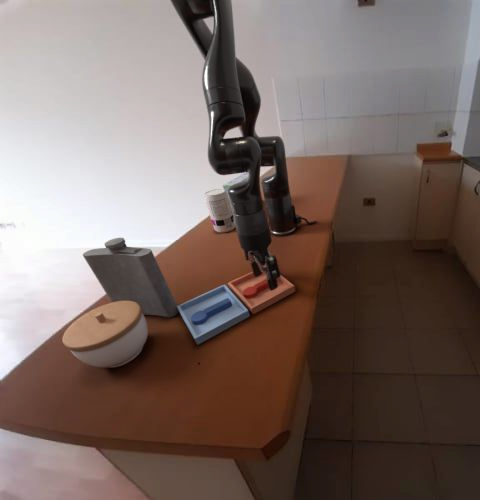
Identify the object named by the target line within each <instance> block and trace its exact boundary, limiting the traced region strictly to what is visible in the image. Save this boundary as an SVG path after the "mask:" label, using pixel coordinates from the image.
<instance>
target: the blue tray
mask: <svg viewBox="0 0 480 500" xmlns="http://www.w3.org/2000/svg"><path fill="white" fill-rule="evenodd" d="M226 298H229V300H230V301H231V303H232V306H231V307H229V308H227V309H225V310H223V311H221V312H219V313H217V314H215V315H214V316H212V317H210V318H208V320H207V321H206V322H205V323H203V324H200V325H194V324H193V323H192V320H191V316H192V315H193V314H194V313H196V312H198V311H202V310H203V311H204V309H206V308H208V307H210V306H212V305H214V304H216V303H218V302H220V301H222V300H224V299H226ZM177 308H178V310H179V312H178V313H179V314H180V317H181V318H182V320H183V322H184V323H185V325H186V327H187V328H188V331H189V333H190V334H191V336H192V338H193V340H194V341H195V343H196V345H201V344H202V343H204V342H206V341H208V340H210V339H211V338H213V337H215V336H216V335H218V334H220V333H222V332H224V331H226V330H227V329H230V328H231V327H233V326H234V325H236V324H239V323H240V322H242V321H244V320H246V319H248V318H249V317H251V315H250V311H249V309H248V308H247V307H246V306H245V305H244V304H243V303H242V302H241V301H240V299H239V298H238V297H237V296H236V295H235V294H234V293H233V292H232V291H231V289H230V288H229V286H228V285H226V284H222V285H220V286H218V287H216V288H214V289H210V290H209V291H207V292H205V293H203V294H200V295H198V296H196V297H193V298H192V299H189V300H187V301H186V302H182V303H181V304H179V305H177Z"/></svg>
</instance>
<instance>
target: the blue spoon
mask: <svg viewBox="0 0 480 500" xmlns="http://www.w3.org/2000/svg"><path fill="white" fill-rule="evenodd" d="M231 306H232V303H231V301H230V300H229V298H226V299H224V300H222V301H220V302H218V303H216V304H214V305H212V306H210V307H208V308H206V309H204V311H203V310H202V311H198V312H196V313H194V314H193V315H192V316H191V320H192V323H193V324H194V325H200V324H203V323H205V322H206V321H207V320H208V318H210V317H212V316H214V315H215V314H217V313H219V312H221V311H223V310H225V309H227V308H229V307H231Z"/></svg>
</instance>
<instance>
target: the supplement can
mask: <svg viewBox="0 0 480 500" xmlns="http://www.w3.org/2000/svg"><path fill="white" fill-rule="evenodd" d="M204 202H205V204H206V207H207V208H206V209H207V211H208V214H209V218H210V220H211V223H212V226H213V230H214V231H215V232H217V233H220V234H221V233H222V234H223V233H228V232H232V231H233V230H234V229H236V227H235V224H234V217H233V212H232V208H231V205H230V201H229V197H228V194H227V193H226V191H225V190H224V188H216V189H212V190H209V191H206V192H205V193H204Z"/></svg>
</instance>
